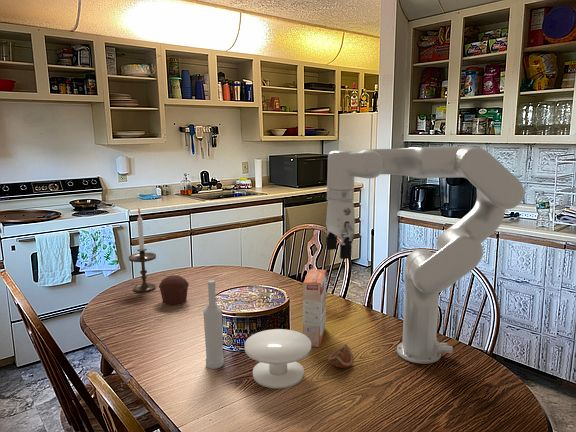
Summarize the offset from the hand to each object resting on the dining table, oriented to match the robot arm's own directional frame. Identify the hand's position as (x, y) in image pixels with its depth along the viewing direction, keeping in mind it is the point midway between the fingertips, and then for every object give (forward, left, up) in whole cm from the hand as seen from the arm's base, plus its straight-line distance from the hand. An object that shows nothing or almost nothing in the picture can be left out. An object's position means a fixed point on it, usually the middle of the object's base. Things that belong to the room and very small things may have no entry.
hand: (338, 253), depth 129 cm
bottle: (+33, +15, -31) cm, 48 cm away
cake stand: (+14, +16, -31) cm, 37 cm away
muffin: (+67, -27, -31) cm, 79 cm away
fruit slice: (-2, +8, -31) cm, 32 cm away
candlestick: (+86, -37, -31) cm, 99 cm away
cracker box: (+8, -8, -31) cm, 33 cm away
